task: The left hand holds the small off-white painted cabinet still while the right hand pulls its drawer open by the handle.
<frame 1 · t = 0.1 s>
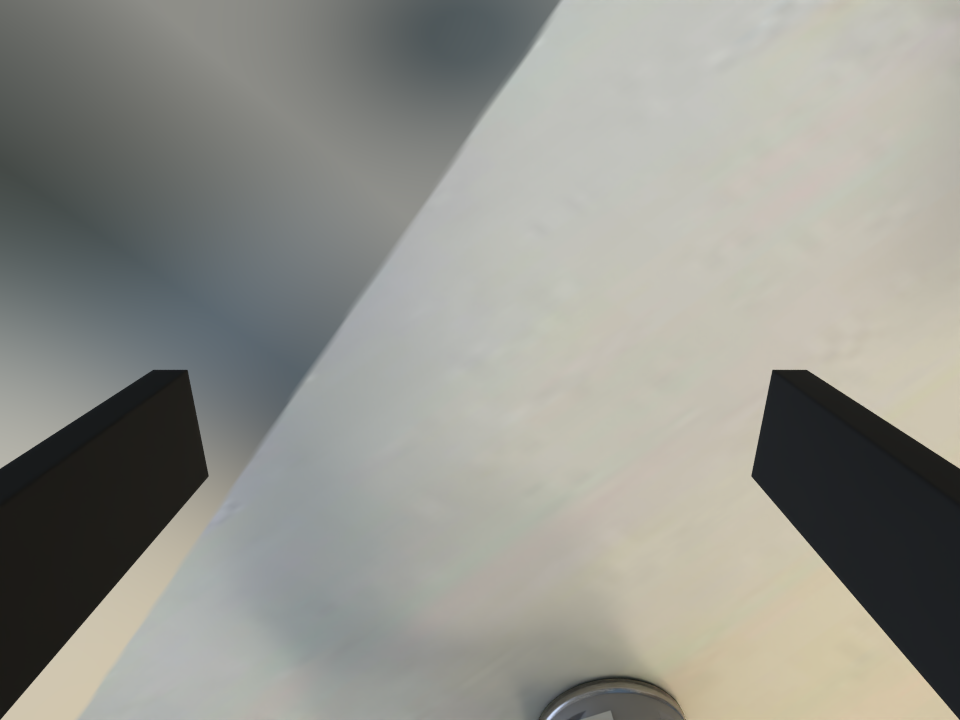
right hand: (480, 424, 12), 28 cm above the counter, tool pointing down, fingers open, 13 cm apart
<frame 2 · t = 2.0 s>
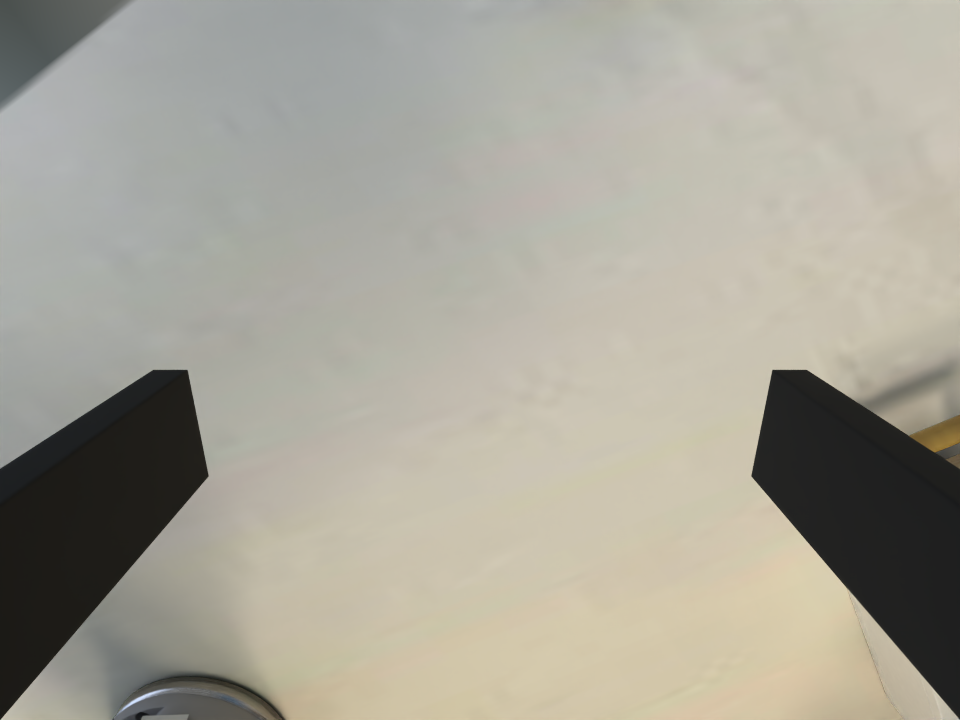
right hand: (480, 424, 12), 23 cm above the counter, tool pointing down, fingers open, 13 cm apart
cabinet: (925, 590, 43), on the counter
drawer: (955, 580, 37), point 4 cm above the counter, slide at 0.9 cm
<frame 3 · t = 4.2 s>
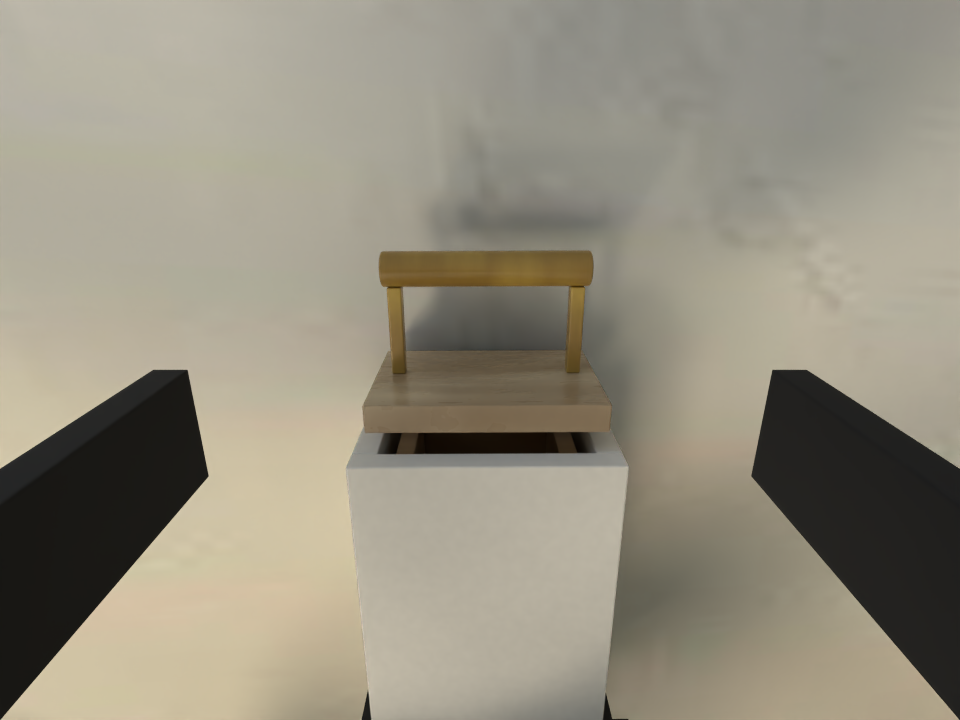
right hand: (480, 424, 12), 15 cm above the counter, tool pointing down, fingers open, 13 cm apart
cabinet: (484, 541, 32), on the counter, touching left hand
drawer: (486, 506, 26), point 4 cm above the counter, slide at 0.9 cm
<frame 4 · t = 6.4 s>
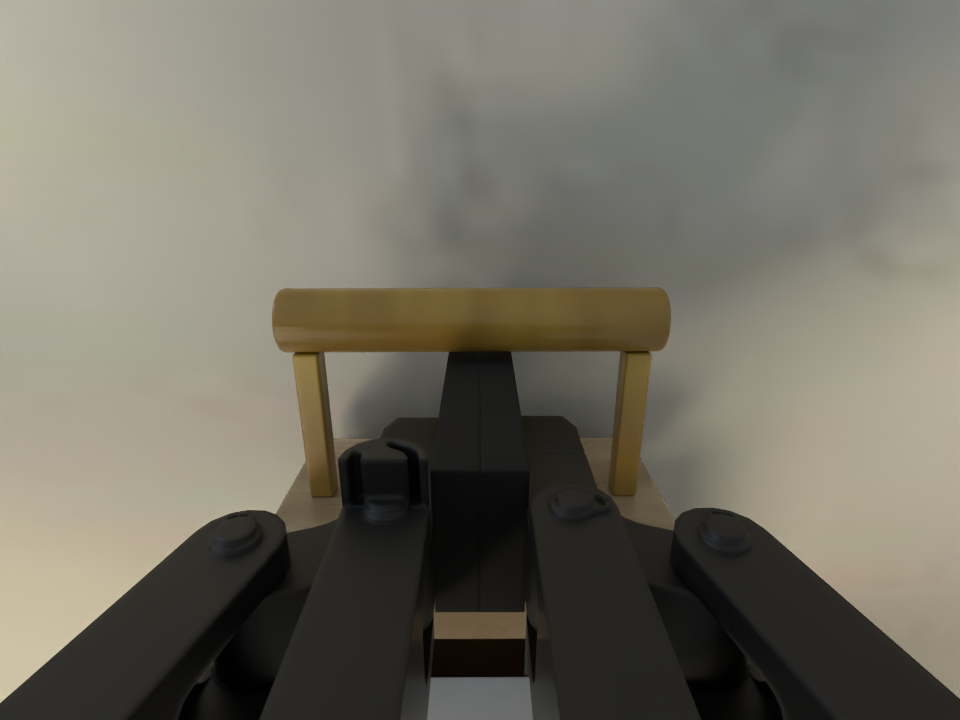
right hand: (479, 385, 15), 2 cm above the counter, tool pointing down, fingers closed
cabinet: (476, 697, 22), on the counter, touching left hand
drawer: (474, 694, 16), point 4 cm above the counter, slide at 1.0 cm, touching right hand
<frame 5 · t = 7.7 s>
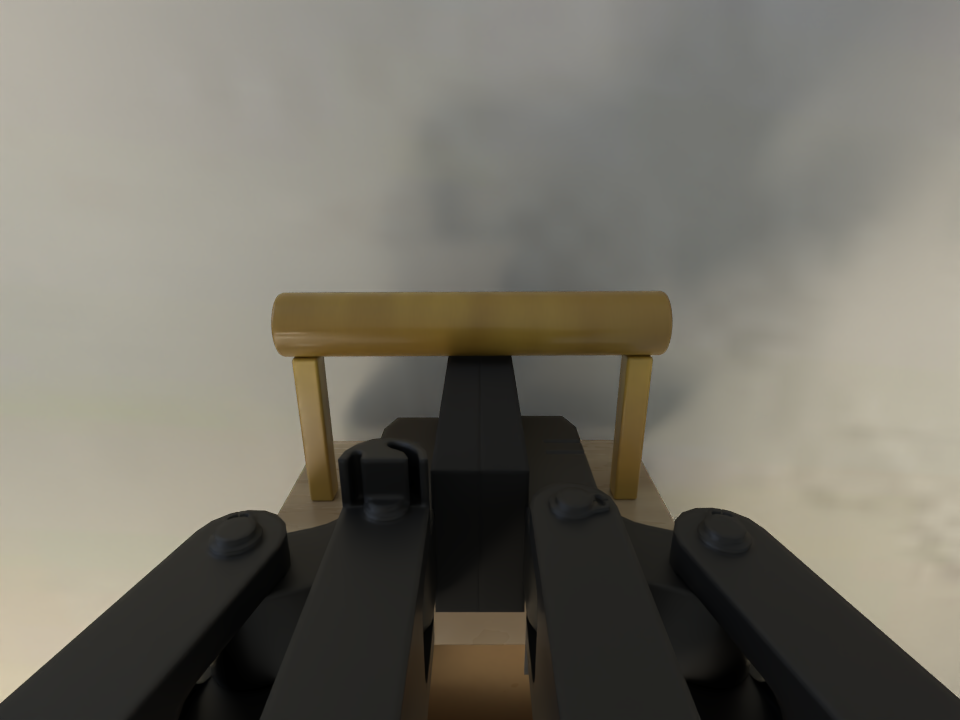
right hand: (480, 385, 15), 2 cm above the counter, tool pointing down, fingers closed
drawer: (475, 697, 16), point 4 cm above the counter, slide at 9.1 cm, touching right hand
when the left hand's fingers open (4 cm above the counter, at t = 9.5 s): cabinet stays where it is, on the counter.
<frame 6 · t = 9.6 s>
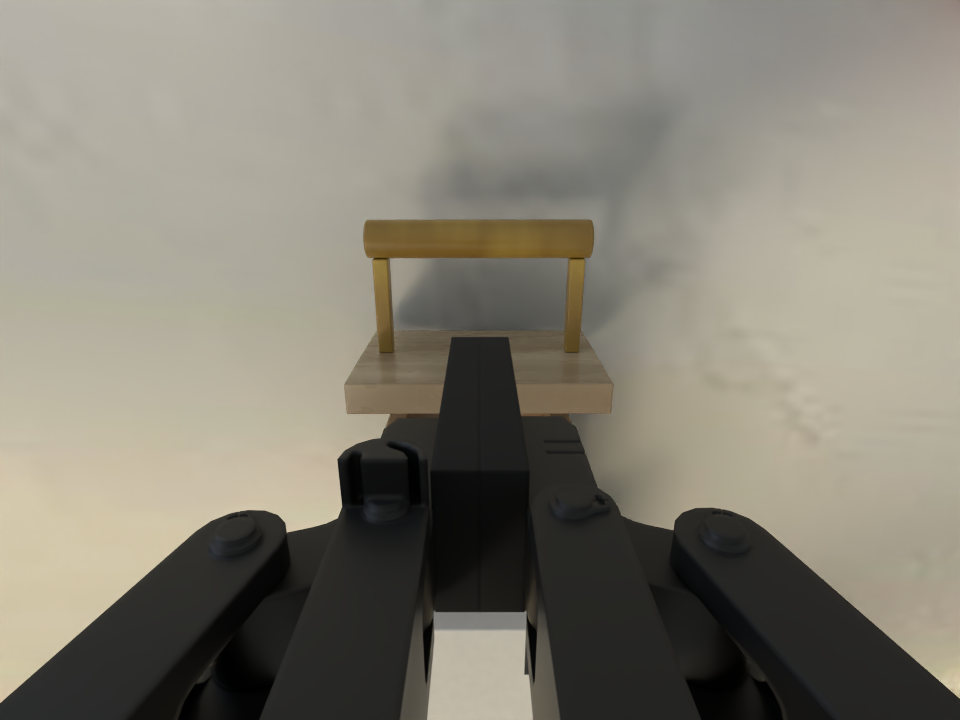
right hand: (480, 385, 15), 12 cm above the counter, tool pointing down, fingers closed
cabinet: (479, 645, 34), on the counter
drawer: (479, 495, 25), point 4 cm above the counter, slide at 9.2 cm
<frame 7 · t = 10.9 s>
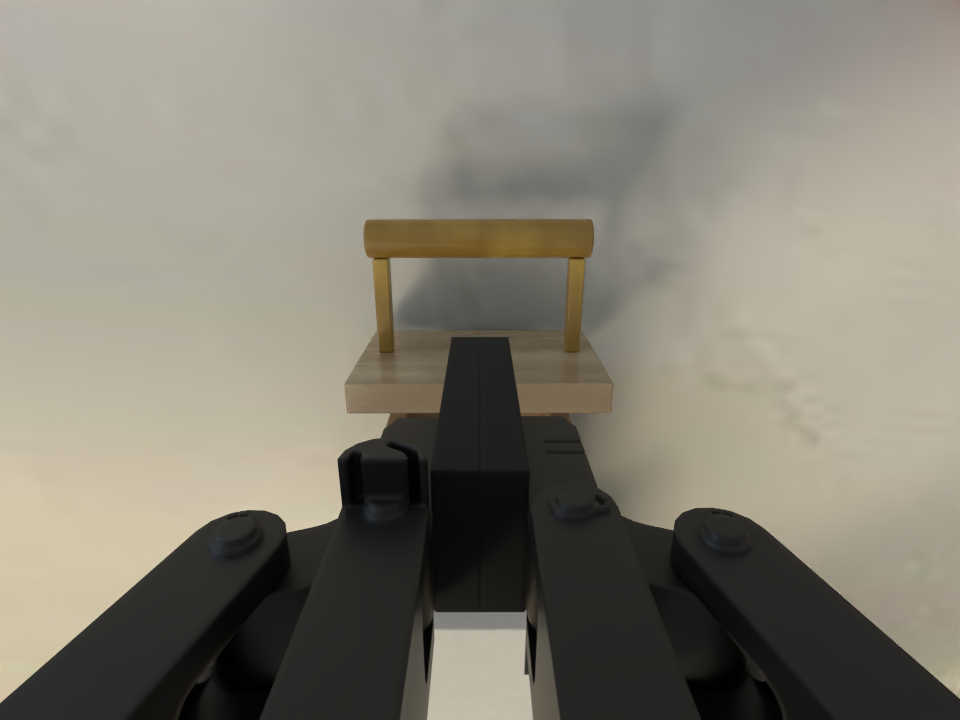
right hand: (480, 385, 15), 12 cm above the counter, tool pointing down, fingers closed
cabinet: (479, 645, 34), on the counter
drawer: (479, 495, 25), point 4 cm above the counter, slide at 9.2 cm
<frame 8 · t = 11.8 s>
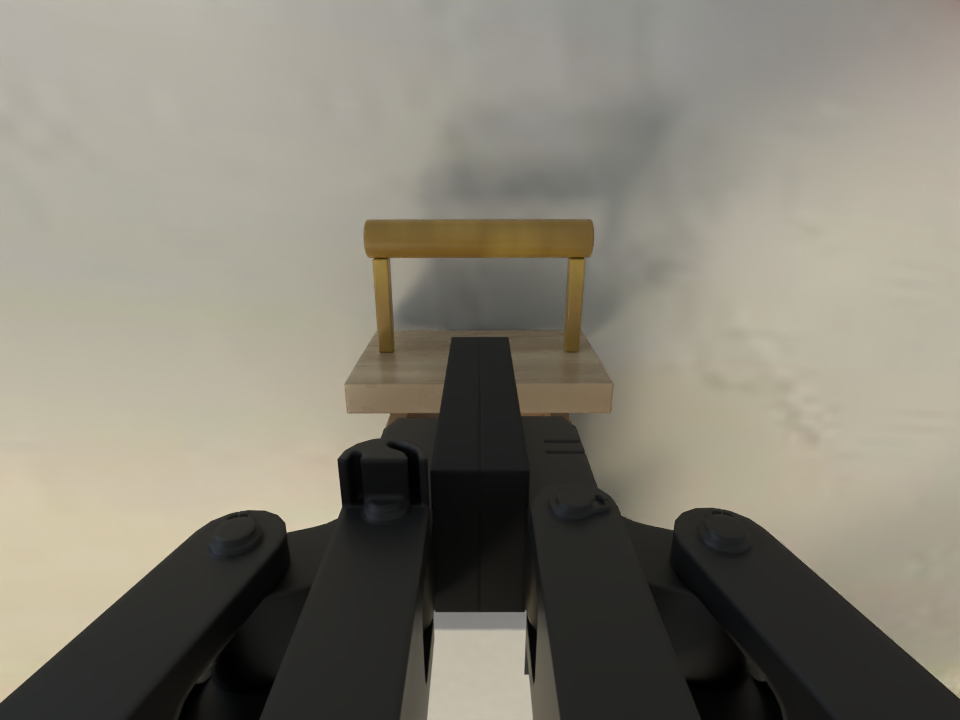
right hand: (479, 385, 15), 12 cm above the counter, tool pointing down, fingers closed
cabinet: (479, 645, 34), on the counter
drawer: (479, 495, 25), point 4 cm above the counter, slide at 9.2 cm
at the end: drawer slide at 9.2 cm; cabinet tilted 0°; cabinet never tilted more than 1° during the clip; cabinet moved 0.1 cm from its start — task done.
